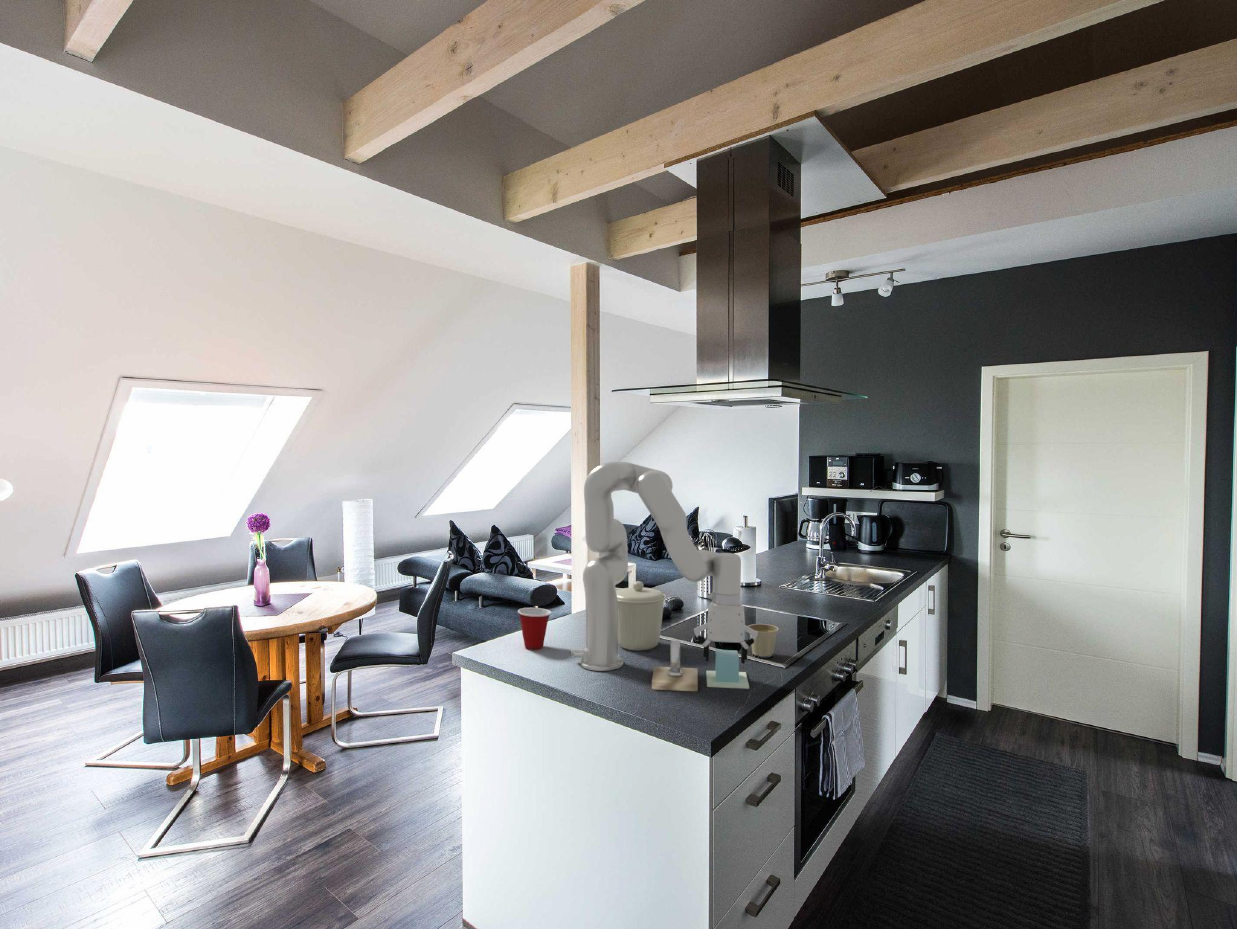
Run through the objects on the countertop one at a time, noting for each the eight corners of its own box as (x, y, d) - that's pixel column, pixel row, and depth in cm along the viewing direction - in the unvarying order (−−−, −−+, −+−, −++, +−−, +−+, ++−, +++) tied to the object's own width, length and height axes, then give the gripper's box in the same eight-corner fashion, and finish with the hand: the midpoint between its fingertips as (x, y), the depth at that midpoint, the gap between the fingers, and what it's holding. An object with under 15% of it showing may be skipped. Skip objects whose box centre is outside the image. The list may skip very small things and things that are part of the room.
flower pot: (741, 652, 195) (741, 625, 195) (766, 649, 198) (766, 622, 198) (758, 662, 186) (758, 633, 186) (784, 658, 190) (784, 630, 190)
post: (667, 677, 168) (667, 643, 168) (668, 672, 172) (668, 639, 172) (682, 677, 168) (682, 644, 167) (682, 672, 172) (682, 639, 171)
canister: (666, 638, 210) (666, 576, 210) (665, 655, 192) (665, 587, 192) (613, 637, 212) (613, 575, 212) (607, 654, 194) (607, 586, 194)
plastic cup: (555, 650, 198) (555, 612, 198) (521, 654, 194) (521, 615, 194) (546, 640, 208) (546, 604, 208) (514, 644, 204) (514, 607, 204)
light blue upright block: (716, 681, 168) (716, 656, 168) (715, 674, 174) (715, 649, 174) (738, 682, 168) (738, 657, 168) (737, 674, 174) (737, 650, 174)
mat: (707, 686, 166) (707, 684, 166) (706, 672, 177) (706, 670, 177) (749, 688, 165) (749, 686, 165) (745, 674, 176) (745, 672, 176)
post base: (651, 689, 165) (651, 681, 165) (654, 673, 176) (654, 666, 176) (697, 691, 163) (697, 683, 163) (697, 675, 175) (697, 668, 175)
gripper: (694, 600, 168) (693, 663, 169) (759, 603, 166) (758, 667, 166) (694, 594, 176) (693, 654, 176) (757, 597, 174) (755, 658, 174)
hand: (724, 660), depth 171 cm, fingers open, 9 cm apart
